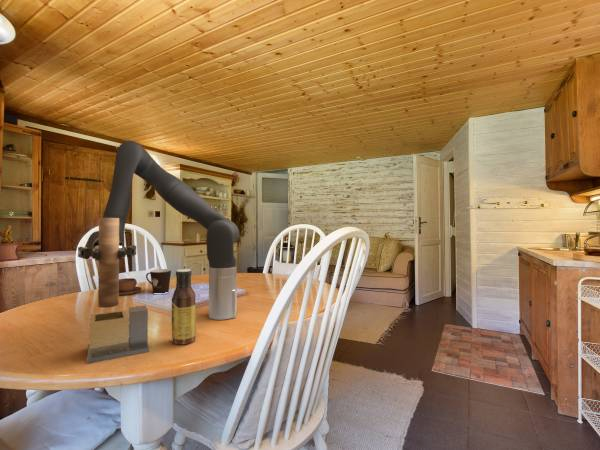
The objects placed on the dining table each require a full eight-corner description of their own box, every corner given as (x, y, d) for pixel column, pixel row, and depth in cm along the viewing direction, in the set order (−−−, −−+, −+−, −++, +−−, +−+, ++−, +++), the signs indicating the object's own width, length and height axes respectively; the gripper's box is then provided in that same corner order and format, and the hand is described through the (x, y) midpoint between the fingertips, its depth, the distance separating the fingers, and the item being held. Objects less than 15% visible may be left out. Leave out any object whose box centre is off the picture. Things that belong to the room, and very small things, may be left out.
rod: (121, 302, 82) (122, 218, 82) (113, 307, 78) (114, 218, 77) (103, 302, 82) (104, 217, 81) (94, 307, 77) (95, 217, 77)
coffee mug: (174, 292, 142) (174, 270, 142) (155, 296, 136) (155, 273, 136) (163, 288, 150) (163, 267, 150) (144, 291, 144) (144, 269, 144)
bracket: (88, 348, 82) (88, 309, 82) (144, 338, 89) (144, 303, 89) (87, 363, 74) (87, 320, 73) (148, 351, 80) (149, 312, 80)
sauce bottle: (177, 336, 91) (177, 267, 90) (199, 337, 90) (199, 267, 90) (167, 345, 84) (167, 271, 84) (190, 346, 84) (190, 271, 84)
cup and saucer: (118, 290, 146) (118, 277, 146) (145, 290, 147) (145, 277, 147) (105, 297, 134) (105, 282, 134) (135, 296, 135) (135, 282, 135)
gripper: (77, 235, 88) (73, 240, 73) (135, 235, 95) (142, 239, 81) (77, 262, 88) (73, 272, 74) (135, 259, 96) (141, 268, 81)
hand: (109, 255), depth 77 cm, fingers closed on rod, 4 cm apart
